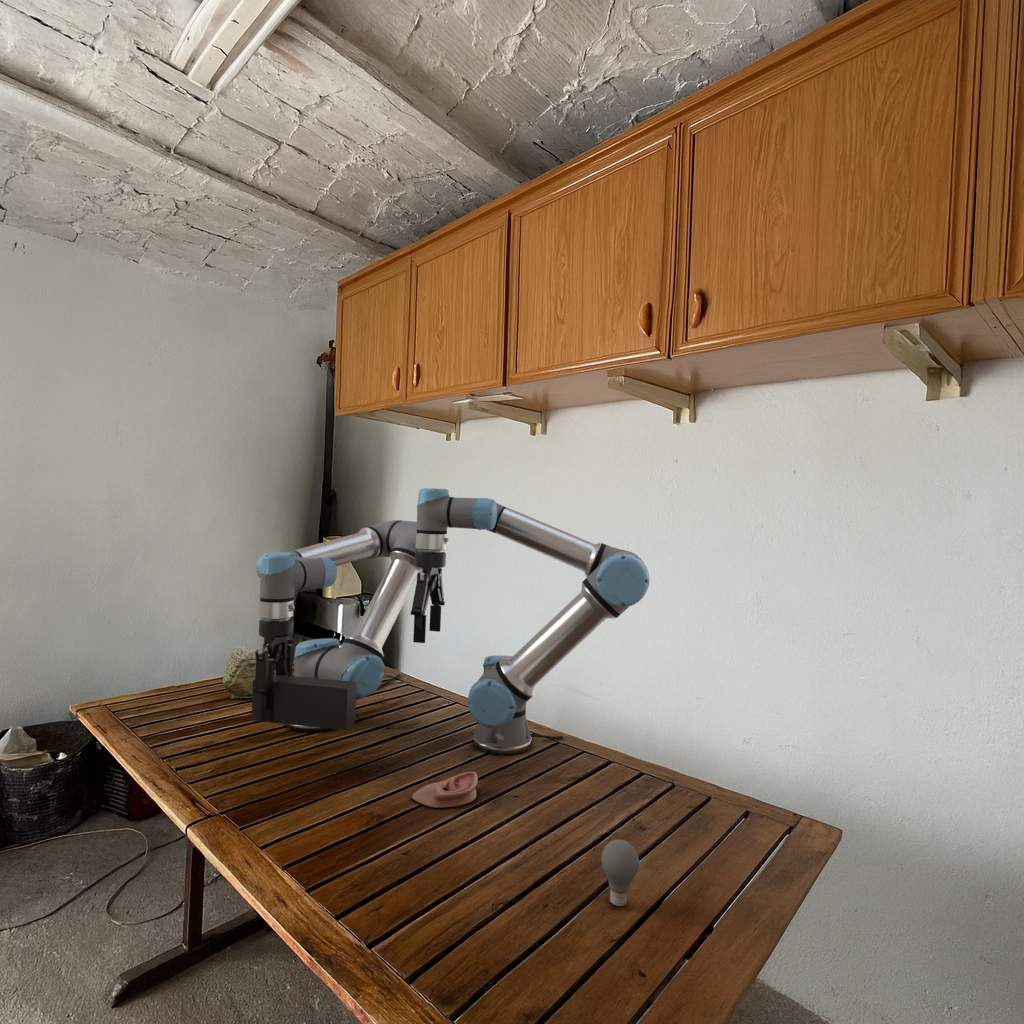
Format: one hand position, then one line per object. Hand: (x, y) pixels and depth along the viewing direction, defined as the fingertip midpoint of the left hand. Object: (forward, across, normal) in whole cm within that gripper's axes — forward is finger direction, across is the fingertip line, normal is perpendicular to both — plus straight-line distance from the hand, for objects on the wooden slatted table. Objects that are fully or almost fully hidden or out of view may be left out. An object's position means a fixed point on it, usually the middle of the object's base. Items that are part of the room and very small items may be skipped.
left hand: (273, 716), depth 149 cm
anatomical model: (+11, -7, -44) cm, 46 cm away
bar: (+1, 0, -8) cm, 8 cm away
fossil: (+11, +44, +31) cm, 55 cm away
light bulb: (+11, -36, -80) cm, 89 cm away
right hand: (-19, +13, -33) cm, 40 cm away
